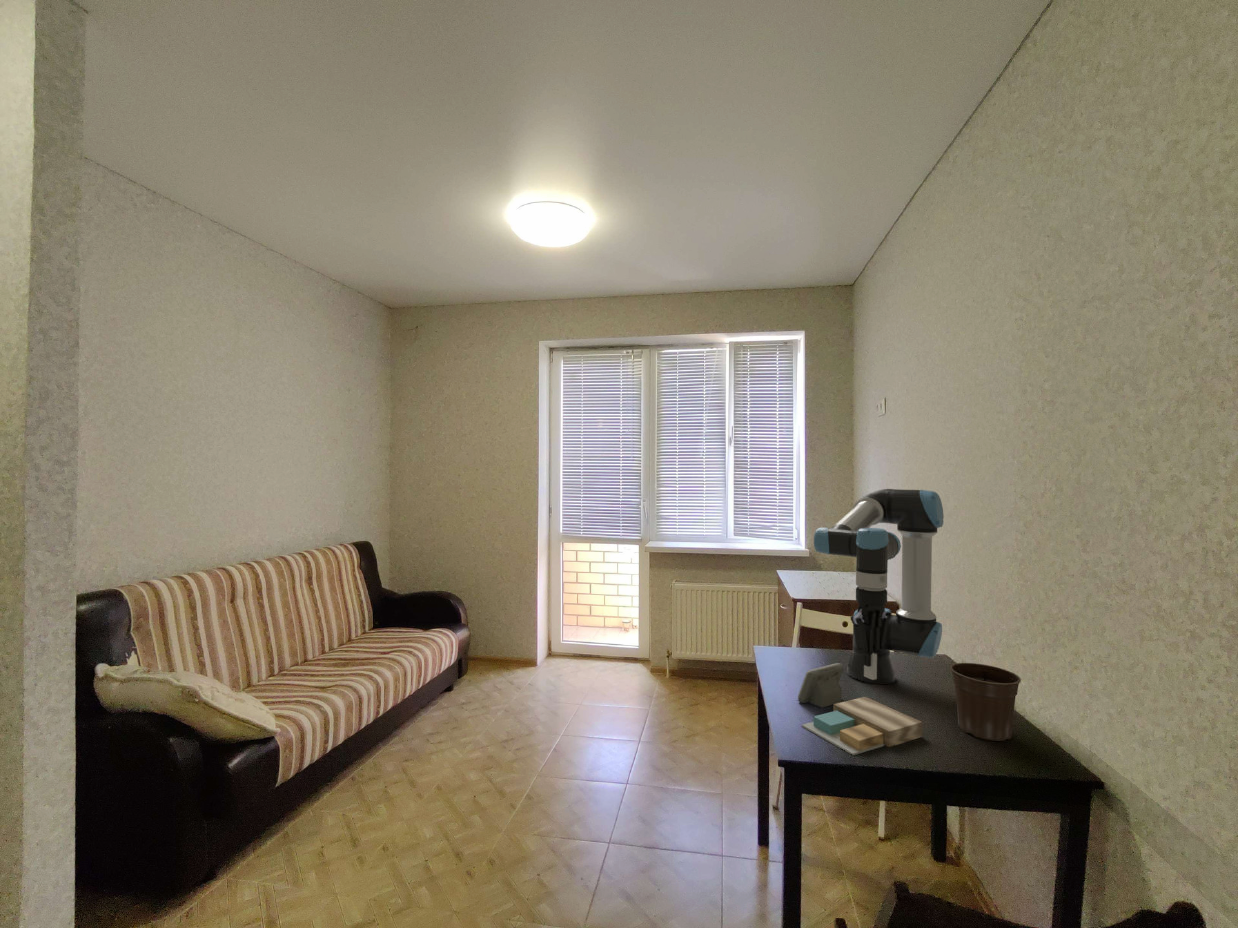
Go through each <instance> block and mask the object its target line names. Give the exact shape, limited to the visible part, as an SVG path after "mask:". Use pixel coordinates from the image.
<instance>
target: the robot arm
mask: <svg viewBox="0 0 1238 928" xmlns="http://www.w3.org/2000/svg"><path fill="white" fill-rule="evenodd" d="M944 517H945V515H944V507H943V502H942V500H941V497H940V495H939V493H937V492H935V491H933V490H925V489H897V488H896V489H894V488H884V489H879V490H875V491H872V492H870V493H868V494H866V495H863V496H862V497H860V498H859V499H858V500H857V501H856V502H855V503H854V504H853V507H852V508H851V510H850V511H849V512H848V513H847V514H845V515H844V516H843V517H842V518H841V519H840V520H838V521H837V522H836V523H835V524H833V526H832V527H831V528H830V527H818V528H817V529H816V530H815V531H814V535H813V547H814V550H815V551H816V552H818V553H819V554H826V555H830V556H831V555H832V556H843V557H851V558H856V560H855V561H856V567H855V585H856V587H855V601H856V602H857V603H858V606H857V607H858V608H857V609H856V610H855V611H854V613H853V615H851V616H850V620H851V623H852V652H851V655H850V657H849V660H848V663H847V667H846V673H847V676H849V677H850V676H851V677H850V678H852V679H854V678H855V680H856V679H858V680H857V681H859V680H860V682H862V681H865V682H864V683H866V682H867V684H872V683H875V684H874V685H890V684H893V683H894V682H895V681H896V672H895V670H894V666H893V663H892V659H891V654H890V653H891V651H893V652H897V653H902V654H907V655H913V656H917V657H918V658H920V657H921V658H928V659H932V658H934V657H936V655H937V654H938V652H939V648H940V645H941V641H942V634H943V624H942V623H940V622H939V621H937V615H936V614H935V613H934V612H933V611H932V561H933V560H932V558H933V557H932V556H933V555H932V554H933V553H932V551H933V550H932V549H933V537H934V536H935V535H936V534H937V533H938V529H939V528H942V527H943V526H944ZM878 524H892V525H897V527H896V528H897V531H898V533H899V534H900V535H901V536H902V537H901V538H902V539H901V541H900V539H899V537H898V536H897V535H896V534H895V533H892V532H889V531H887V530H886V529H884V528H878V527H877V528H876V527H872V526H875V525H878ZM901 548H902V549H901ZM900 551H901V607H900V608H899V609H897V610H896V614H895V615H894V614H892V611H891V610H890V609H889V608H886V607H885V605H887V604H888V590H887V588H888V566H889V563H888V561H889V560H892V559H894V558H896V556H897V555H898V554H900Z"/></svg>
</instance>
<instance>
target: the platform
mask: <svg viewBox="0 0 1238 928" xmlns="http://www.w3.org/2000/svg"><path fill="white" fill-rule="evenodd" d="M832 705H833V706H832V708H833V711H839V712H841V713H843V714H845V715H847V716H849V717H851V718H853V719H855V722H854V726H858V725H861V724H865V725H867V726H869V727H871V728H873V729H875V730H877V731H879V732H881V733H883V743H884V746H886V747H888V748H891V747H894V745H895V746H897V745H898V746H899V745H900V744H904V743H907V742H910V741H913V740H916V739H920V738H922V737H923V721H921V720H919V719H916V718H914V717H912V716H910V715H907V714H905V713H902V712H900V711H899V710H896V709H894V708H891V707H889V706H888V705H884V704H883V703H881V702H878V701H876V700H873V699H871V698H869V697H868V696H862V697H858V698H854V699H850V700H849V699H848V700H846V701H841V702H838V703H835V704H832ZM833 711H832V712H833Z"/></svg>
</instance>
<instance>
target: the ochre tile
mask: <svg viewBox="0 0 1238 928" xmlns="http://www.w3.org/2000/svg"><path fill="white" fill-rule="evenodd" d="M840 741H842V742H844V743H846V744H848V745H849V746H851V747H853V748H855V749H857V750H859V751H860V750H863V749H866V748H870V747H873V746H876V745H879V744H882V743H883V733H881V732H879V731H877V730H875V729H873V728H871V727H869V726H867V725H865V724H861V725H858V726H854V727H851V728H847V729H843V730H840Z"/></svg>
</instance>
